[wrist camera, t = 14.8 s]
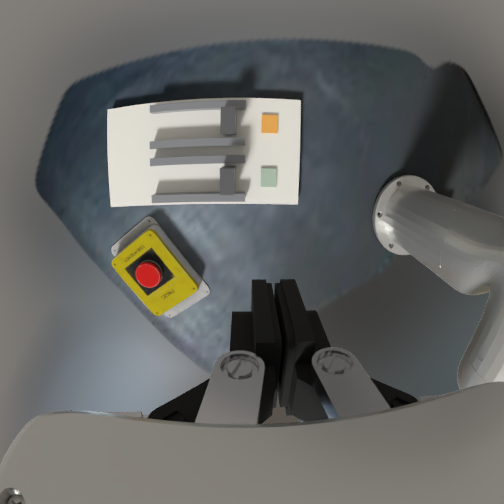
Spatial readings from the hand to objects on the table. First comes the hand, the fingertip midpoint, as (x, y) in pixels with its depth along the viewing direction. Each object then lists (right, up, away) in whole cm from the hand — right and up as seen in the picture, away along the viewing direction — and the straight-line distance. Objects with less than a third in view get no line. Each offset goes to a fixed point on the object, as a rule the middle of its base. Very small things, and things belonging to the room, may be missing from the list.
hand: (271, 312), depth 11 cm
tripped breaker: (-3, +18, +22) cm, 29 cm away
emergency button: (-15, 0, +31) cm, 35 cm away
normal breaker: (-4, +12, +25) cm, 28 cm away
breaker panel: (-8, +16, +25) cm, 31 cm away
